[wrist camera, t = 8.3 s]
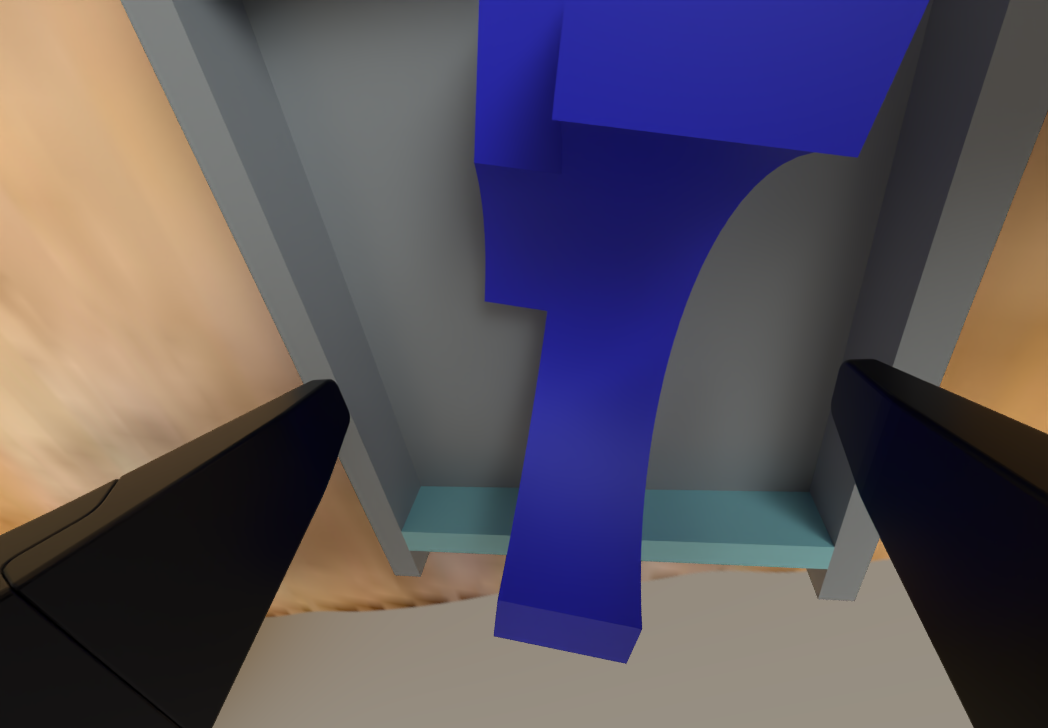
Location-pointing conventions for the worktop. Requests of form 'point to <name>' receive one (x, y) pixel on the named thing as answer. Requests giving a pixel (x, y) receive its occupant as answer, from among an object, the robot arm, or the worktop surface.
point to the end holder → (517, 333)
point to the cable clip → (635, 238)
